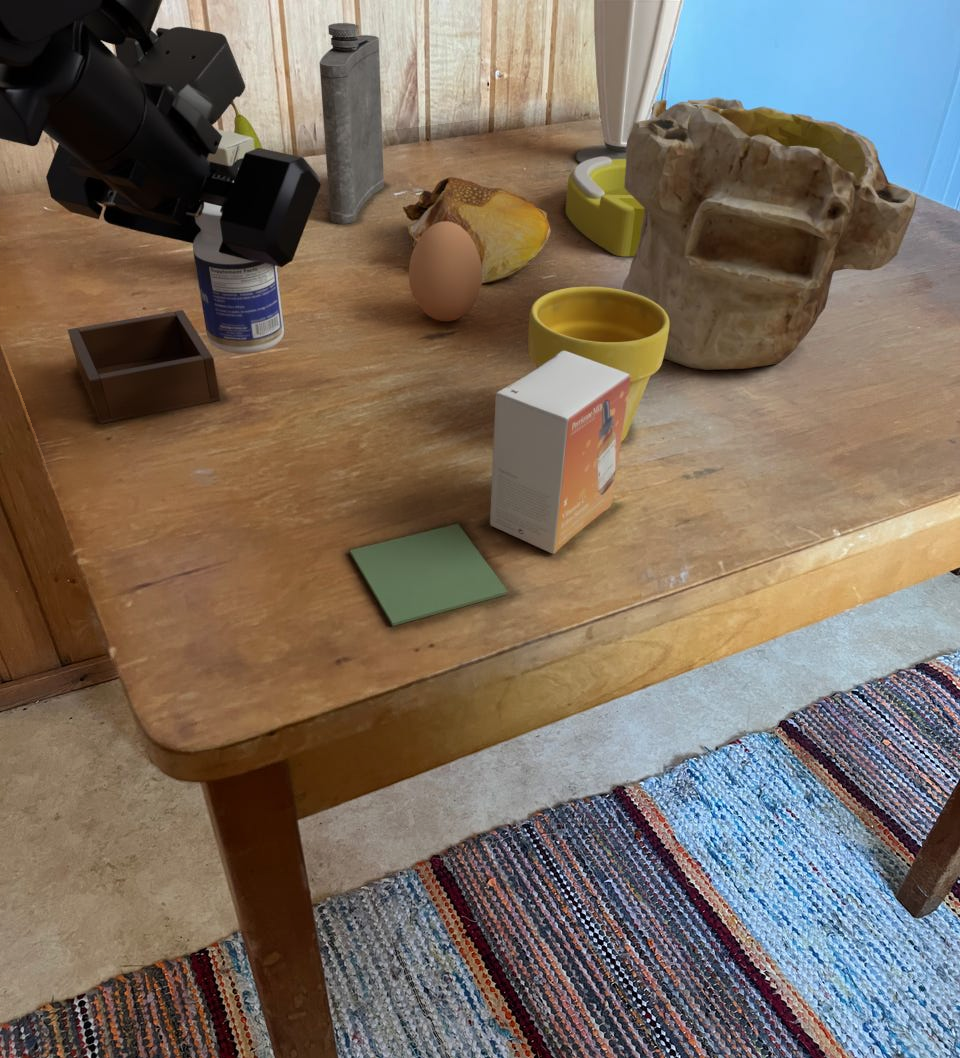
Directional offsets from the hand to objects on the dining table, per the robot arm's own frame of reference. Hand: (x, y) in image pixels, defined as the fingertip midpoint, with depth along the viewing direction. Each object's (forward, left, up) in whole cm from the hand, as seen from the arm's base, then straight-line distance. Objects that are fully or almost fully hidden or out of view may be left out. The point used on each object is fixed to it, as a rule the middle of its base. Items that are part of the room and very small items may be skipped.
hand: (248, 249), depth 71 cm
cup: (+39, +66, -13) cm, 77 cm away
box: (-6, +28, -13) cm, 31 cm away
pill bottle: (-1, -1, -6) cm, 7 cm away
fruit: (-6, +44, -13) cm, 46 cm away
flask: (+5, +49, -13) cm, 51 cm away
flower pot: (+26, -2, -13) cm, 29 cm away
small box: (+22, -14, -13) cm, 29 cm away
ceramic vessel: (+42, +13, -13) cm, 46 cm away
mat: (+13, -21, -13) cm, 28 cm away
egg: (+15, +18, -13) cm, 27 cm away
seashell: (+18, +34, -13) cm, 40 cm away
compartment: (-11, +4, -13) cm, 18 cm away
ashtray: (+38, +44, -13) cm, 59 cm away
